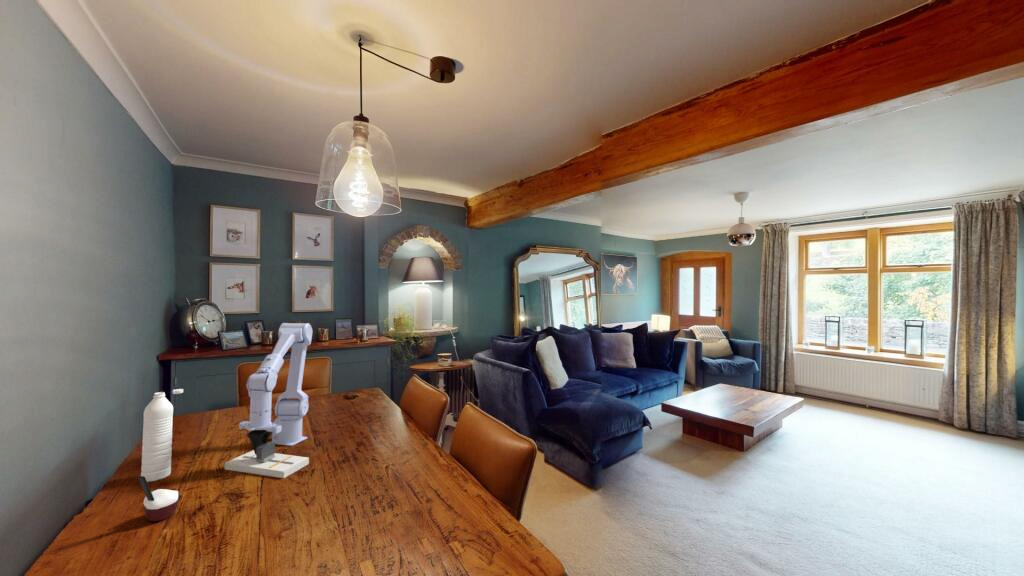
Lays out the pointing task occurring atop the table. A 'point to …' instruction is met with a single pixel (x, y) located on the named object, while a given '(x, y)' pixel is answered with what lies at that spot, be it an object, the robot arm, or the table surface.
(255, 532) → the table surface
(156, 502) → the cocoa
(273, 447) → the fader tab
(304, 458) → the fader console
